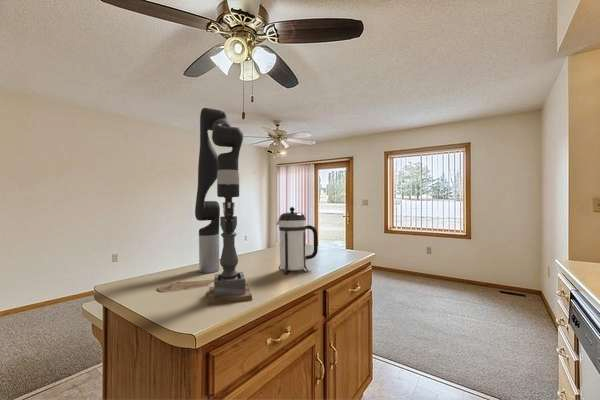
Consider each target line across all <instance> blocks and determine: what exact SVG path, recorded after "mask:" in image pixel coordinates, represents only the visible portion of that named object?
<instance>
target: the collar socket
mask: <svg viewBox="0 0 600 400" xmlns="http://www.w3.org/2000/svg"><path fill="white" fill-rule="evenodd" d="M237 273H238V274H237V277H238V279H233V280H222V281H220V279H221V278H222V277H221V274H222V273H217V274H214V279H213V280H214V282H213V283H214V284H213V286H209V289H208V295H207V306H210V305H219V304H220V305H221V304H227V303H228V304H230V303H235V302H236V303H237V302H245V301H246V302H247V301H252V300H253V295H252V292H251V289H250V285H249V283H246V279H245V274H244V272H243V271H240V272H239V271H238V272H237Z"/></svg>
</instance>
